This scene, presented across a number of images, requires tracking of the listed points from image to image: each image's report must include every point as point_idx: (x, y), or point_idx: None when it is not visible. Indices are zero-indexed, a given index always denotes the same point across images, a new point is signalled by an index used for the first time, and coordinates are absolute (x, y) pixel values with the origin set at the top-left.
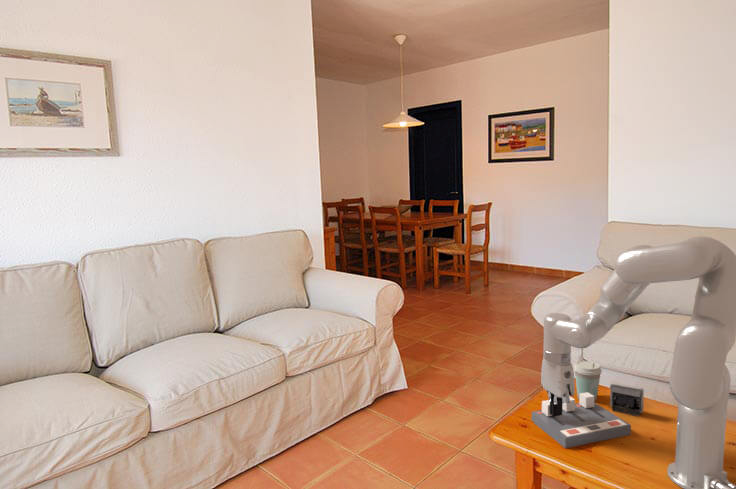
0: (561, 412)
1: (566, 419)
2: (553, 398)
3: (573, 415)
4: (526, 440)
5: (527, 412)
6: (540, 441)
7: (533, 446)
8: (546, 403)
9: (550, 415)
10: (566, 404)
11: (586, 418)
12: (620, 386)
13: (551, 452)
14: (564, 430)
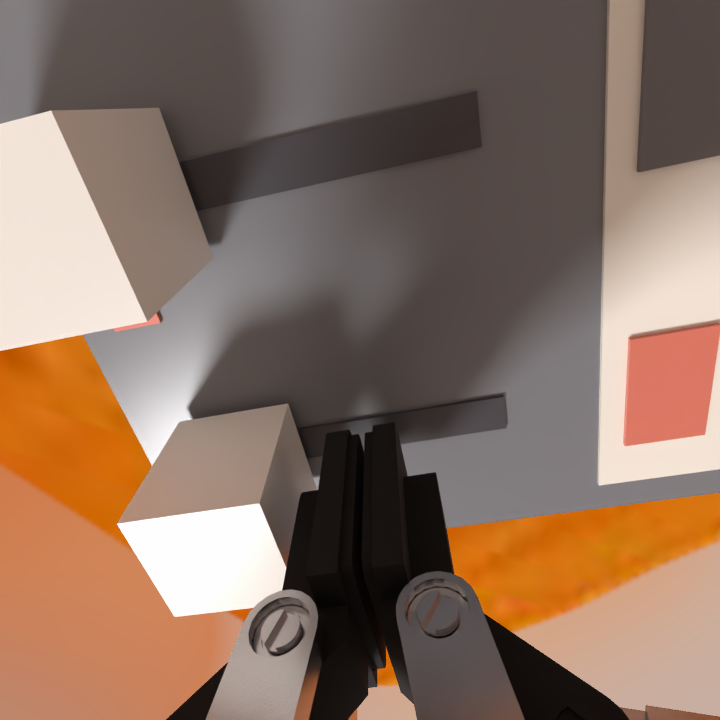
0: (435, 476)
1: (386, 329)
2: (341, 710)
3: (295, 195)
4: (485, 595)
5: (80, 473)
6: (522, 535)
7: (564, 586)
8: (240, 597)
9: (307, 468)
10: (169, 296)
11: (403, 28)
12: None
13: (673, 525)
14: (608, 449)
